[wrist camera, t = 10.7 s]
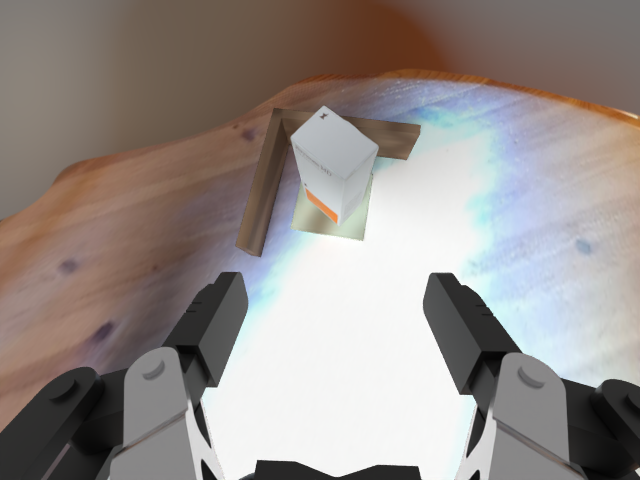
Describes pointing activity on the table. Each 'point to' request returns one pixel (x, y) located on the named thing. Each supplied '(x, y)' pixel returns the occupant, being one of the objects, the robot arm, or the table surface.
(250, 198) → the corner arena
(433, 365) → the table surface
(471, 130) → the table surface
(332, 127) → the skincare box
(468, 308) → the robot arm
